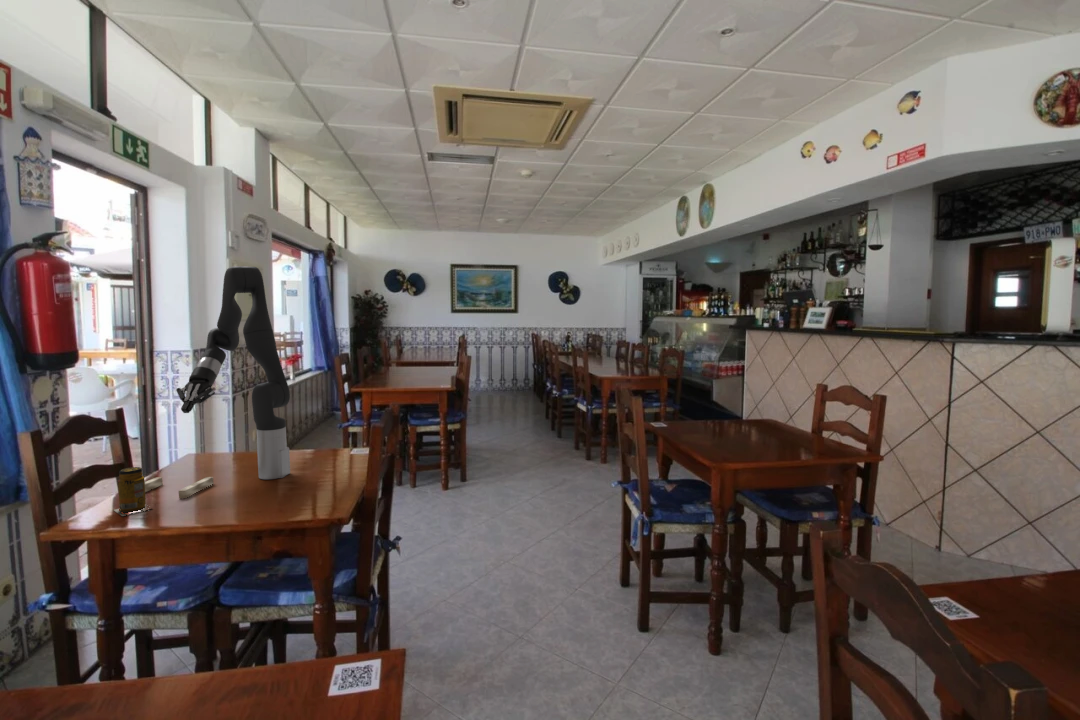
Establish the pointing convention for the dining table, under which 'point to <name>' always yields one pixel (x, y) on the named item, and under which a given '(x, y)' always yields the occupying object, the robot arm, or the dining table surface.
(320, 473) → the dining table surface
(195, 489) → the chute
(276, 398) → the robot arm
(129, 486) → the condiment
